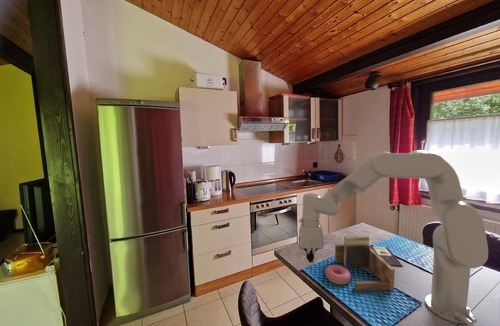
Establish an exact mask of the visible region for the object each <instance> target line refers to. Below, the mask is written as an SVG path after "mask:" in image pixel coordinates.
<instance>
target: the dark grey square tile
mask: <svg viewBox="0 0 500 326" xmlns="http://www.w3.org/2000/svg"><path fill="white" fill-rule="evenodd" d="M369 261H370V244H369V245H363V246H346V267H345V268H346V269H370V268H369Z"/></svg>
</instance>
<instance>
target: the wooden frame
mask: <svg viewBox="0 0 500 326" xmlns="http://www.w3.org/2000/svg"><path fill="white" fill-rule="evenodd" d="M343 241H344V242H343V243H337V244H336V243H335V246H334V261H335V262H336V263H343V266H344V267H345V268H346V246H363V245H369V246H370V237H369V236H368V235H366V234H365V235H344V240H343ZM368 269H370V271H372V272H373V273H374V274H375V275H376V277H378V279H379V280H364V281H363V280H360V281H359V280H358V281H357V280H355V281H354V283H353V284H354V289H355V291H357V292H360V291H390V290H391V291H393V290H394V289H395V271H396V270H395V268H394V266H390V265H389V264H388V263H387V262H386V261H385V260H384V259H383V258H381V257H380V256H379V255H378V254H377V253H376V252H375V251H374V250H373V249H371V248H370V261H369V268H368Z"/></svg>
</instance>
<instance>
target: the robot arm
mask: <svg viewBox="0 0 500 326" xmlns="http://www.w3.org/2000/svg"><path fill="white" fill-rule="evenodd" d="M384 178H390V179H424V180H425V182H426V185H427V189H428V193H429V194H428V195H429V199H430V208H431V213H432V215H433V216H434V218H436V219H437V220H438V221H439V222H440V223H441V224H440V225H438V226H436V227H435V229H434V230H433V234H432V245H433V247H432V248H433V264H432V277H431V291H430V294H429V295H426V297H425V298H424V299H425V301H424V302H425V303H424V304H425V305H426V306H427V308H428V309H429V310H430V311H431V312H433V313H434V314H435V315H436V316H438V317H440V318H442V319H444V320H446V321H448V322H453V323H456V324H459V323H462V324H461V325H466V326H474V325H475V324H476V323H477V322H478V320H477V319H476V318H475V317H474V316H473V314H472V312H471V308H470V307H468V300H469V299H468V297H469V289H470V288H469V287H470V276H471V269H476V268H480V267H483V265H484V264H486V263H487V261H488V258H489V247H488V240H487V234H486V229H485V223H484V219H483V216H482V215H481V214H480V212H479V210H477V209H476V208H475V207H474V206H473V205H471V204H469V203H467V202H466V201H465V199H464V194H463V190H462V186H461V182H460V178H459V176H458V174H457V172H456V170H455V168H454V167H453V166H452V165H451V164H450V163H449V162H448V161H447V160H445V159H444V158H443V157H442V156H441V155H440V154H438V153H435V152H431V151H427V150H423V149H416V150H413V151H410V152H406V153H405V152H400V153H399V152H395V153H394V152H389V151H385V150H384V151H383V150H382V151H378V152H376V153H375V154H373V155H372V156H371V157H369V158H368V159H367V160H366V161H365V162H364V163H362V164H361V165H360V166H359V167H357V168H356V169H355V170H354V171H352V172H351V173H350V174H349V175H347V176H346V177H345V178H343V179H342V180H341V181H340V182H338V183H336V184H335V185H334V186H332V187H331V188H330V189H329V190H328V191H327V192H326V193H325V194H324V195H323V196H322V197H321V196H320V194H318V193H314V192H313V193H311V192H309V193H308V192H307V193H305V194H303V196H302V216H301V218H300V219H298V222H299V223H300V227H299V232H298V245H297V246H298V250H304V252H306V253H305V254H306V256H305V257H306V260H307V261H308V263H314V260H315V254H316V253H317V251H319V250H321V249H323V248H324V231H323V229H324V228H323V225H322V224H321V214H322V215H325V216H329V217H331V216H332V217H333V216H335V215H337V214H338V213H339V211H340V206H341V205H342V203H343V202H344V201H346V200H347V199H348V198H350V197H351V196H354V195H355V194H360V193H364V192H366V191H368V190H369V189H370V188H371V189H372V187H373V186H375V184H377V183H378V182H379V181H381V180H382V179H384Z"/></svg>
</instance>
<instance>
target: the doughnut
mask: <svg viewBox="0 0 500 326" xmlns="http://www.w3.org/2000/svg"><path fill="white" fill-rule="evenodd" d="M324 269H325V271H324V274H325V276H326V278H327V280H329V281H330V282H332V283H334V284H336V285H347V284H348V283H350V281H351V280H352V279H351V278H352V275H351V272H350V271H349V269H348V268H346V267H345V266H342V265H338V264H332V265H331V264H330V265H328V266H327V267H326V268H324Z"/></svg>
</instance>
